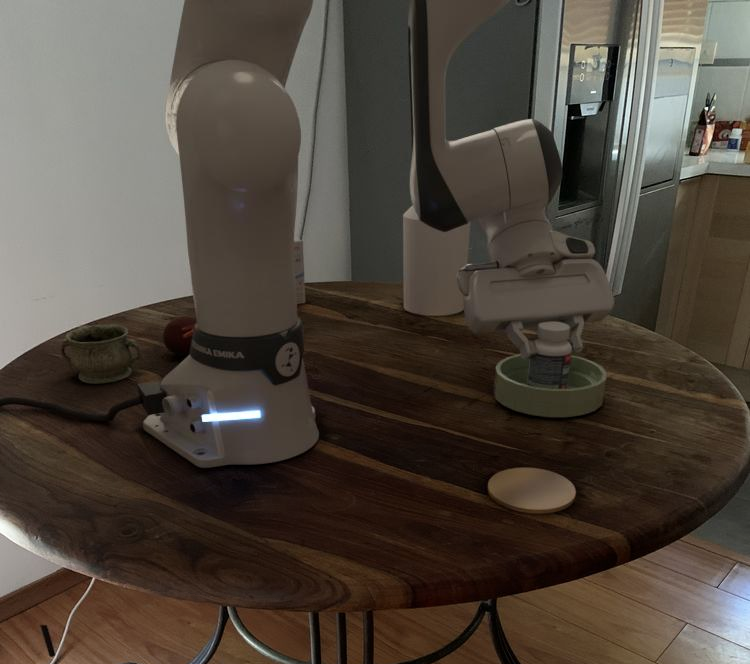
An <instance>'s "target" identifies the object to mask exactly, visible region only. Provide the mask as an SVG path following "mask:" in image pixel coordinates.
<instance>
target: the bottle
mask: <svg viewBox="0 0 750 664" xmlns="http://www.w3.org/2000/svg"><path fill="white" fill-rule="evenodd" d="M470 232H471V221H470V222H468V224H465V225H463V226H460V227H458V228H455V229H452V230H450V231H447V232H442V231H439V230H436V229H434V228H432V227H430V226H428V225H426V224H425V223H423V222H422V221H420V220H419V218H418V215H417V214H416V212H415V210H414V207H413V204H412V205H411V206H410V207H408V209H407V210H406V211H405V212H404V213H403V214H402V241H403V242H402V247H403V248H402V250H403V251H402V252H403V253H402V259H403V260H402V261H403V263H402V265H403V266H402V267H403V269H402V270H403V272H402V274H403V309H404V310H405V311H407V312H409V313H412V314H415V315H421V316H429V317H433V316H435V317H436V316H437V317H439V316H440V317H441V316H449V315H454V314H458V313H460V312H463V311H464V305H463V294H462V293H461V291H460V290H459V286H458V282H457V273H458V272H459V270H460V269H462V268H464V266H465V265H467V264H469V263H468V261H469V247H470ZM463 272H464V271H463Z"/></svg>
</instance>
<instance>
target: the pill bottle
mask: <svg viewBox="0 0 750 664" xmlns="http://www.w3.org/2000/svg"><path fill="white" fill-rule="evenodd" d="M536 329H537V330H536V336H537V337H538V338H536V339H535V340H534V341H535V344H536V346H535V347H536V348H537V355H536V356H534V358H531V359H530V363H529V371H528V379H527V385H529V386H533V387H540V388H549V389H567V383H568V375H569V368H570V361H571V355H573V354H572V346H571V344H570V343H569V342H568V341H567V340H568V339H569V338H570V332H571V331H570V326H569V325H567V324H565V323H561V322H554V321H548V322H542V323H539V325H538V328H536Z"/></svg>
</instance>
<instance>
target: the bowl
mask: <svg viewBox="0 0 750 664" xmlns="http://www.w3.org/2000/svg"><path fill="white" fill-rule="evenodd" d="M529 363H530V359H522V357H521V354H520V353H518V354H515V355H511V356H506V357H504V358H503V359H501V360H500V361H498V363H497V364H496V366H495V368H494V369H495V370H494V383H493V395H494V399H495V400H496V401H497V402H498V403H499V404H501V406H503V407H505V408H508V409H511V410H512V411H515V412H518V413H522V414H526V415H529V416H535V417H536V416H537V417H544V418H572V417H577V416H578V417H579V416H584V415H586V414H590V413H593V412H595V411H596V410H598V409H599V408H600V407H602V406H603V402H604V398H605V391H606V385H607V379H608V372H607V371H606V369H605V367H604V366H602V365H600V364H599V363H597V362H596V361H592V360H590V359H587V358H585V357H582V356H578V355H574V354H571V361H570V368H569V375H568V383H567V389H549V388H540V387H533V386H529V385H527V379H528V371H529Z"/></svg>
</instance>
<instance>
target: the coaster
mask: <svg viewBox="0 0 750 664" xmlns="http://www.w3.org/2000/svg"><path fill="white" fill-rule="evenodd" d="M575 487H576V486H575V485H574V483H572V481H570V479H568V478H567V477H565V476H563V475H561V474H559V473H557V472H555V471H551V470H547V469H543V468H537V467H513V468H507V469H504V470H501V471H498V472H496V473H495V474H494V475H493V476H491V477H490V478H489V480H488V482H487V492H488V495H489V497H490V498H491V499H492V500H493V501H494V502H495V503H497V504H498V505H500V506H502V507H504V508H506V509H509V510H512V511H514V512H520V513H525V514H537V515H542V514H543V515H544V514H552V513H557V512H560V511H563V510H566V509H567V508H569V507H570V506H571V505H572V504H573V503H574V502H575V500H576V496H577V490H576V488H575Z"/></svg>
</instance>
